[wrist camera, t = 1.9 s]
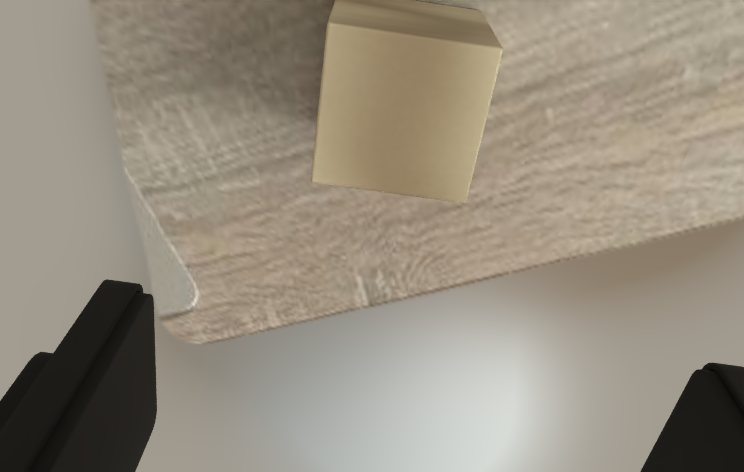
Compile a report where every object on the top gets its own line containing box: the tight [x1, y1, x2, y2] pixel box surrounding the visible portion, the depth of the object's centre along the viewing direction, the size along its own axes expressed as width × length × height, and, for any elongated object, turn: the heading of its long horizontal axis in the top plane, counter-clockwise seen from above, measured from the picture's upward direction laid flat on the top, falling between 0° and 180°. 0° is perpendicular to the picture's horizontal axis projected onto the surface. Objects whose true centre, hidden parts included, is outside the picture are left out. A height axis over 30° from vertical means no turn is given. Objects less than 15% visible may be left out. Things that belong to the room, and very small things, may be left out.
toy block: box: [311, 0, 503, 203], centre depth 24 cm, size 6×6×6 cm
